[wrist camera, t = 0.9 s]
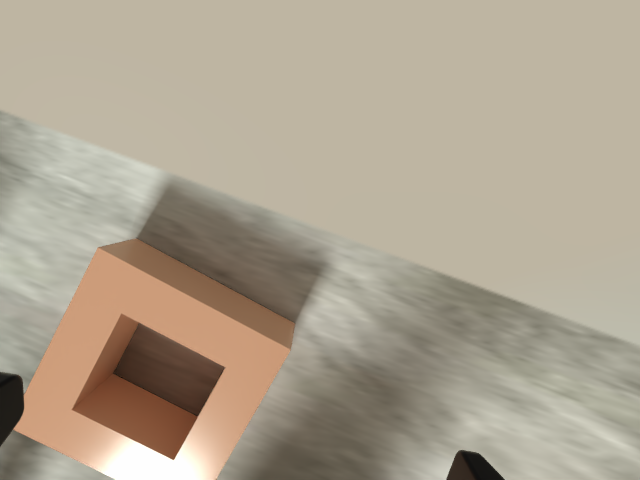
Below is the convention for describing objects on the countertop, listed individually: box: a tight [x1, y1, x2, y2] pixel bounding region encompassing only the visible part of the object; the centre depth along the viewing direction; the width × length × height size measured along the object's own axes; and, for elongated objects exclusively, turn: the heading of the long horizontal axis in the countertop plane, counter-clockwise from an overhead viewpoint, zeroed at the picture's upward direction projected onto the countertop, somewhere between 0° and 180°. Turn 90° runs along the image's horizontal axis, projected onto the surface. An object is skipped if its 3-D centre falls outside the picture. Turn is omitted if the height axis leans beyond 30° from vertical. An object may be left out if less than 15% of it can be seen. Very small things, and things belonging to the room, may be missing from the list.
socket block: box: [13, 238, 295, 480], centre depth 21 cm, size 11×11×4 cm
